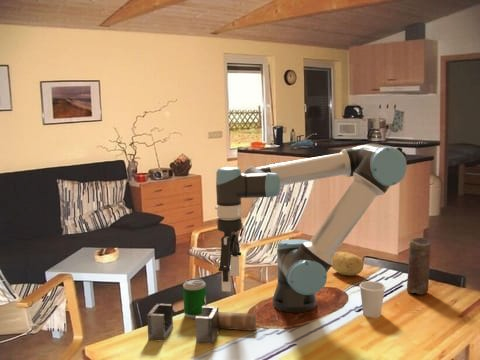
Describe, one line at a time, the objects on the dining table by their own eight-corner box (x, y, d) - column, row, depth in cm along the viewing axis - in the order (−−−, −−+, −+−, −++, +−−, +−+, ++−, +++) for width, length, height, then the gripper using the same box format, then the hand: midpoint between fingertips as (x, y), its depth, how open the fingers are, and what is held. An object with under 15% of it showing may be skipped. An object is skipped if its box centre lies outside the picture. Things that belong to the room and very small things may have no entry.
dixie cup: (389, 313, 167) (390, 284, 165) (377, 321, 161) (377, 292, 159) (366, 306, 172) (367, 279, 171) (354, 314, 166) (354, 286, 165)
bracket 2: (218, 330, 157) (218, 306, 156) (212, 344, 148) (211, 318, 147) (203, 329, 158) (202, 305, 157) (196, 343, 149) (195, 317, 148)
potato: (344, 281, 196) (345, 258, 195) (327, 270, 210) (327, 248, 208) (367, 278, 199) (367, 255, 198) (348, 267, 213) (348, 245, 212)
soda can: (203, 320, 164) (202, 286, 162) (181, 319, 166) (179, 284, 164) (209, 311, 172) (208, 277, 170) (188, 310, 173) (186, 276, 171)
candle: (430, 291, 185) (432, 238, 182) (426, 298, 179) (428, 244, 176) (409, 287, 189) (411, 236, 186) (404, 294, 183) (406, 241, 180)
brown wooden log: (256, 319, 161) (255, 310, 158) (254, 333, 157) (253, 324, 154) (211, 317, 163) (208, 308, 160) (208, 330, 160) (205, 321, 157)
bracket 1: (148, 339, 152) (147, 315, 151) (158, 327, 160) (156, 303, 159) (164, 341, 151) (162, 315, 150) (173, 328, 160) (171, 304, 158)
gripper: (225, 208, 168) (227, 269, 171) (207, 227, 143) (210, 297, 147) (247, 208, 166) (248, 270, 170) (233, 227, 142) (235, 298, 145)
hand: (230, 283), depth 158 cm, fingers open, 13 cm apart
